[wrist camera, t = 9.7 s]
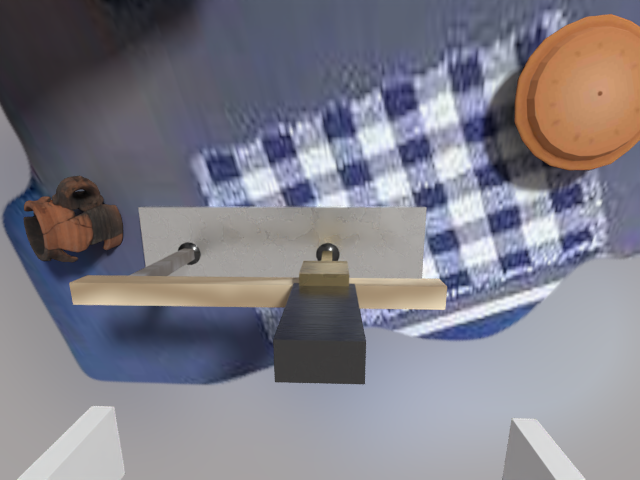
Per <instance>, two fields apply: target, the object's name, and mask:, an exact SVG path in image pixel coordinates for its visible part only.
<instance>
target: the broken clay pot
mask: <svg viewBox="0 0 640 480" xmlns="http://www.w3.org/2000/svg"><path fill="white" fill-rule="evenodd" d="M79 189H83V190H85V191H78V192H75V191H77V190H79ZM103 201H104V199H103V197H102V196H101V195H100V192H99V190H98V187H97V186H96V185H95V184H94V183H93V182H92V181H90V180H89V179H87V178H84V177H82V176H73V177H68V178H66V179H64V180H63V181H61V182H60V184H59V185H58V187H57V190H56V194H55V195H53V196H52V200H51V198H50V197H41V198H40V199H39V200H38V201H26V203H25V204H24V211H34V216H33V217H24V226H25V230H26V234H27V237H28V240H29V242H30V245H31V247H32V249H33V251H34V252H35V254H36V256H37V257H38V258H39V259H40V260H42V261H51V259H55V260H58V261H62V262H75V261H77V260H78V258H77V257H75V256H70V255H69V254H67V253H66V252H64V251H63V250H62V249H64V250H69V251H74V252H81V251H84V250H86V249H87V248H88V246H89V245H93V244H96V243H98V242H101V241H103V240H104V247H103V248H104V249H105V250H108V249H111V248H113V247H116V246H118V245H120V244H121V242H122V238H123V223H122V218H121V215H120V213H119V210H118V209H117V207H116V206H115V205H107V204H102V203H103ZM76 209H80V210H82V211H84V213H82V214H80V215H77V216H76V215H75V212H74V211H73V210H76Z"/></svg>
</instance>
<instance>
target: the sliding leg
mask: <svg viewBox="0 0 640 480" xmlns="http://www.w3.org/2000/svg"><path fill="white" fill-rule="evenodd" d="M273 345H274V371H275V382H290V383H291V382H292V383H332V384H334V383H335V384H336V383H337V384H365V358H366V356H365V355H366V339H365V334H364V329H363V323H362V318H361V313H360V308H359V303H358V297H357V292H356V287H355V284H349V269H348V263H347V261H332V251H323V252H322V260H321V261H303V263H302V266H301V269H300V272H299V283H294V284H293V287H292V290H291V292H290V295H289V298H288V301H287V303H286V306H285V309H284V312H283V314H282V317H281V320H280V323H279V325H278V328H277V331H276V334H275V336H274V339H273Z"/></svg>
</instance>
